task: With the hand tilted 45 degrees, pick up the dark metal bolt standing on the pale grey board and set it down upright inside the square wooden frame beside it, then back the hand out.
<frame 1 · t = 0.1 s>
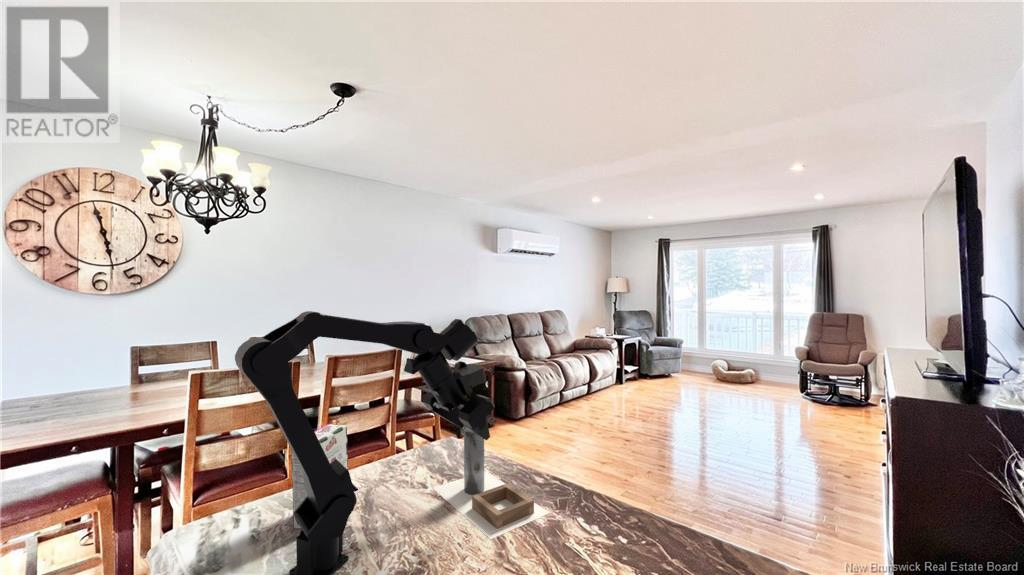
hand: (475, 432, 87), 15 cm above the countertop, tool tilted 35°, fingers open, 9 cm apart
metal bolt: (474, 489, 90), point 1 cm above the countertop, touching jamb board
square wooden frame: (502, 510, 82), resting on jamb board
candy bar box: (321, 515, 83), on the countertop
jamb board: (487, 504, 86), on the countertop
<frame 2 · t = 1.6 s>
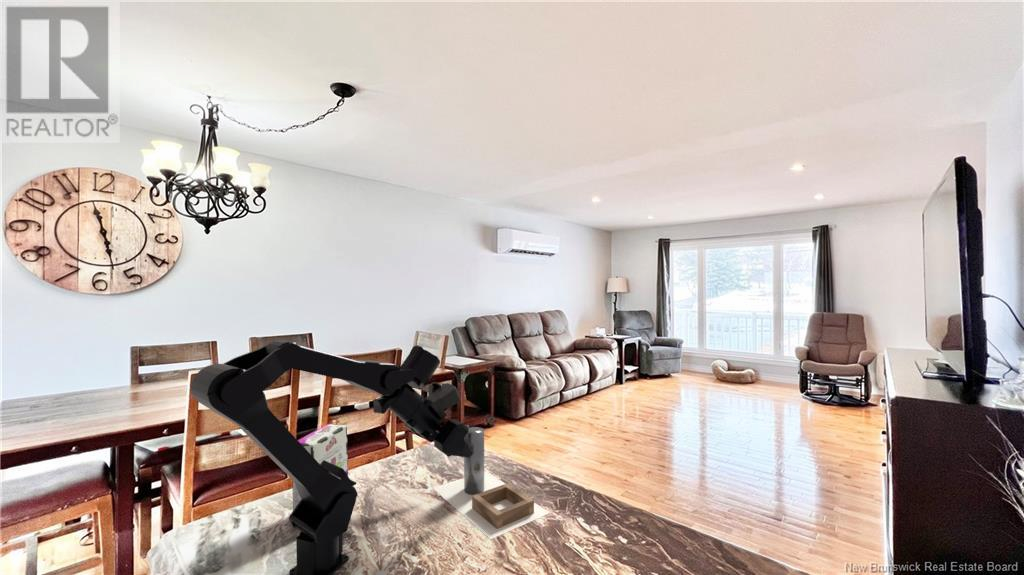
hand: (459, 448, 88), 11 cm above the countertop, tool tilted 45°, fingers open, 9 cm apart
nothing on the countertop moved.
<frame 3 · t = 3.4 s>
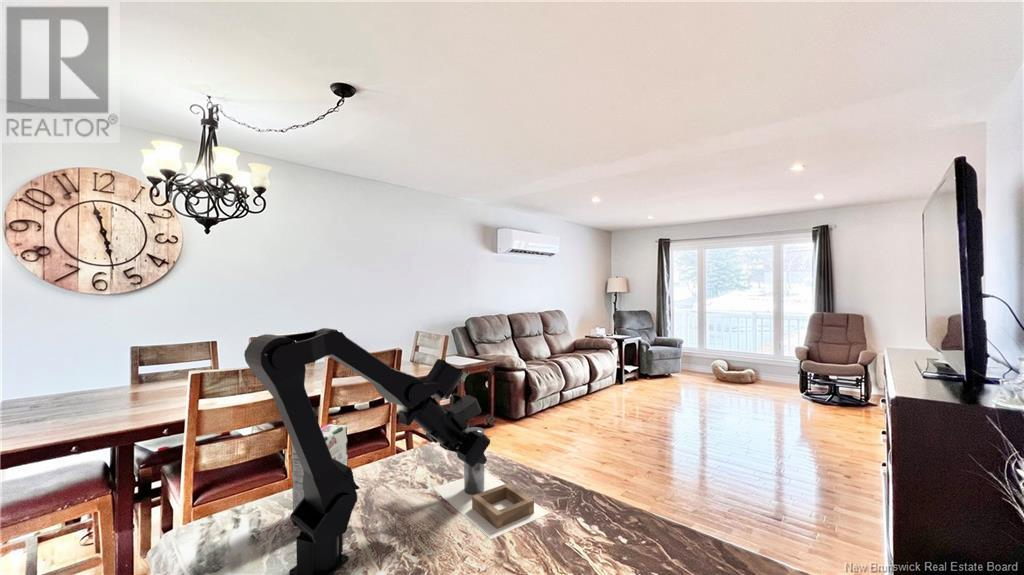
hand: (479, 458, 91), 8 cm above the countertop, tool tilted 45°, fingers closed on metal bolt, 4 cm apart
metal bolt: (474, 489, 90), point 1 cm above the countertop, touching gripper, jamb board
everything else where it was.
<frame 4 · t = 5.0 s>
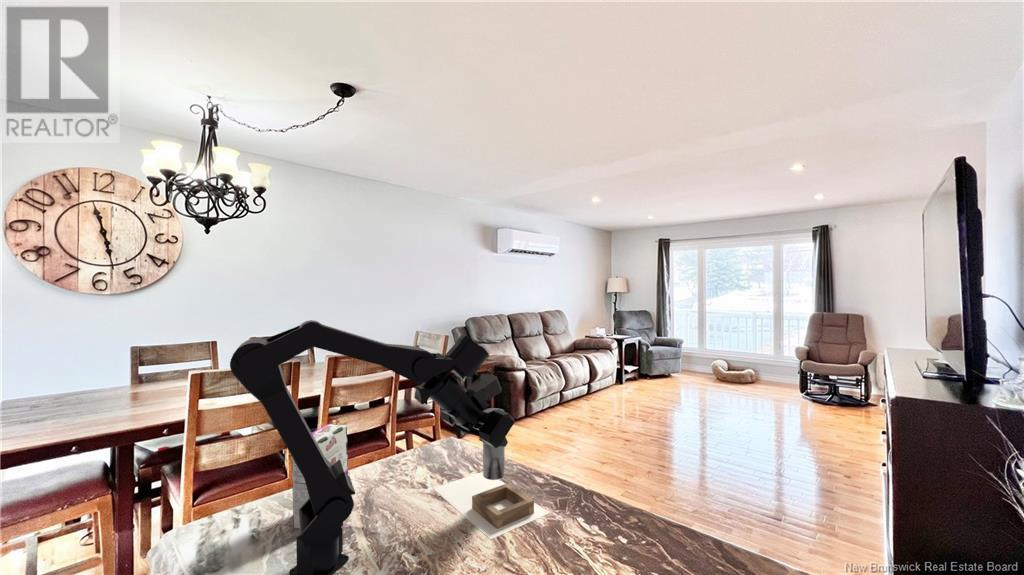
hand: (499, 441, 85), 14 cm above the countertop, tool tilted 45°, fingers closed on metal bolt, 4 cm apart
metal bolt: (493, 474, 85), point 7 cm above the countertop, touching gripper
everything else where it was.
when the fingers open (9 cm above the countertop, at t = 6.6 s): metal bolt drops 1 cm, resting on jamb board.
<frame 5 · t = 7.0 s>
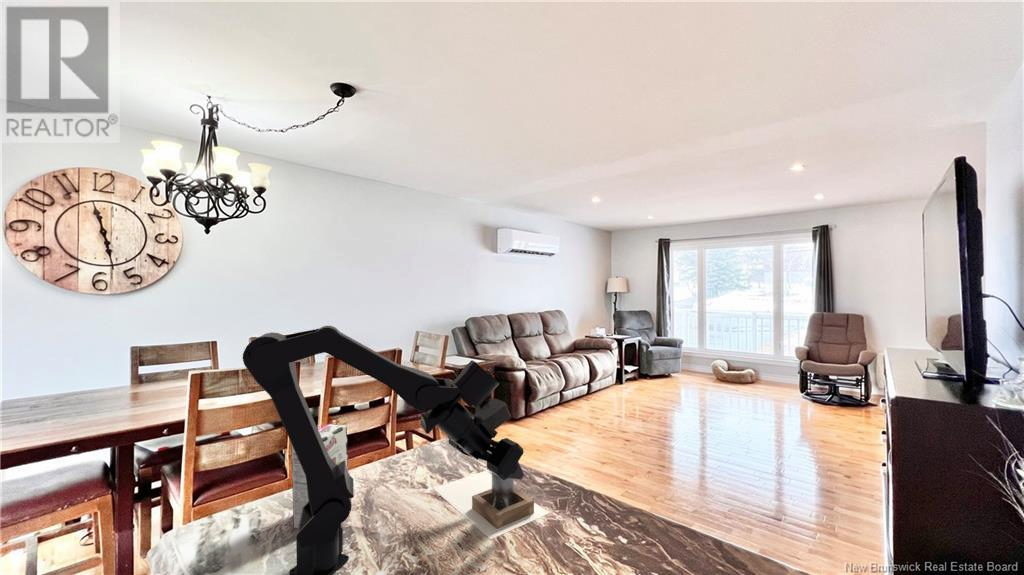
hand: (508, 468, 83), 9 cm above the countertop, tool tilted 45°, fingers open, 9 cm apart
metal bolt: (502, 510, 82), point 1 cm above the countertop, touching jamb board
everything else where it was.
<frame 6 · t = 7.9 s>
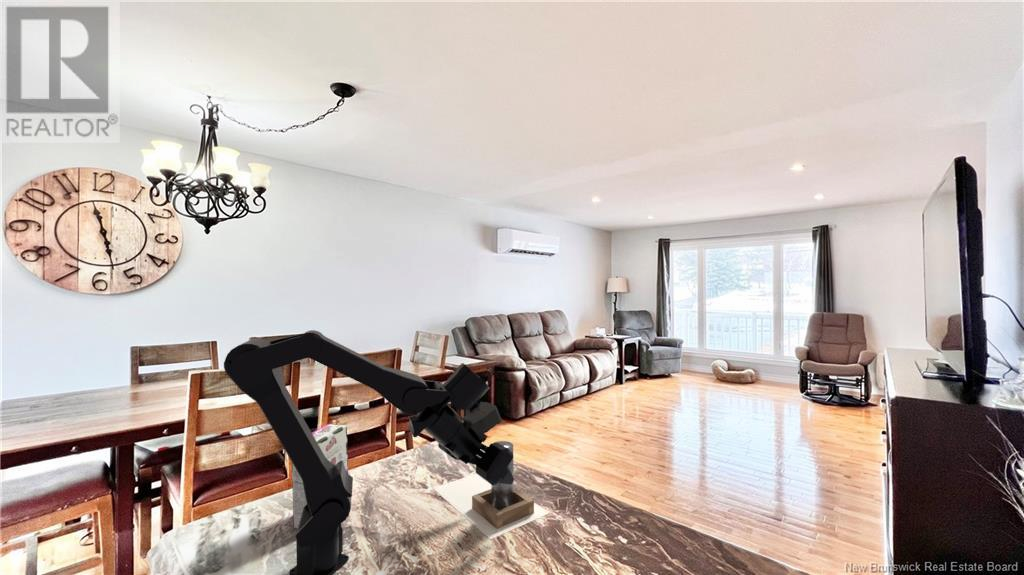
hand: (498, 472, 81), 9 cm above the countertop, tool tilted 45°, fingers open, 9 cm apart
nothing on the countertop moved.
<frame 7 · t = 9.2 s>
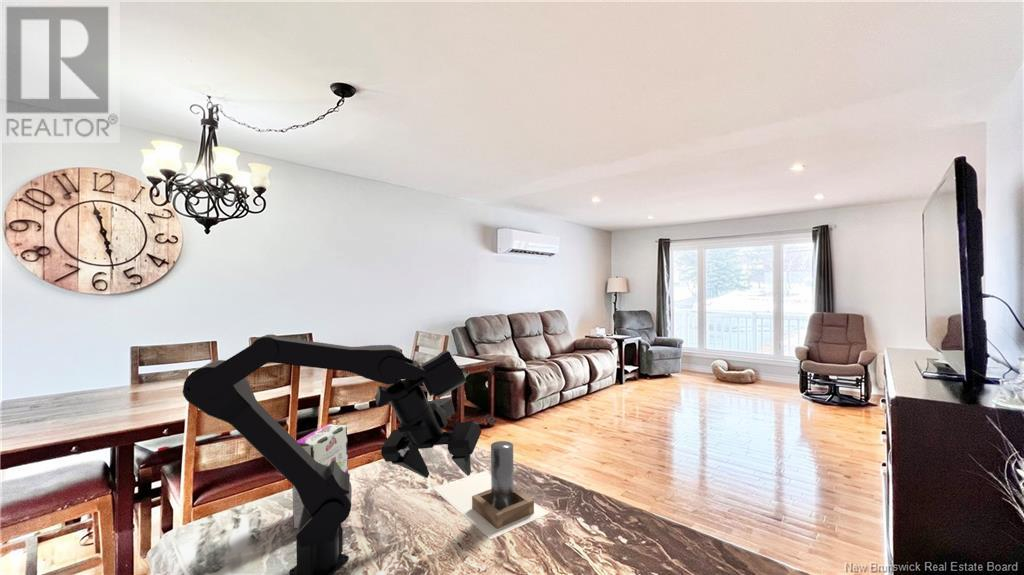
hand: (448, 474, 78), 10 cm above the countertop, tool tilted 30°, fingers open, 9 cm apart
nothing on the countertop moved.
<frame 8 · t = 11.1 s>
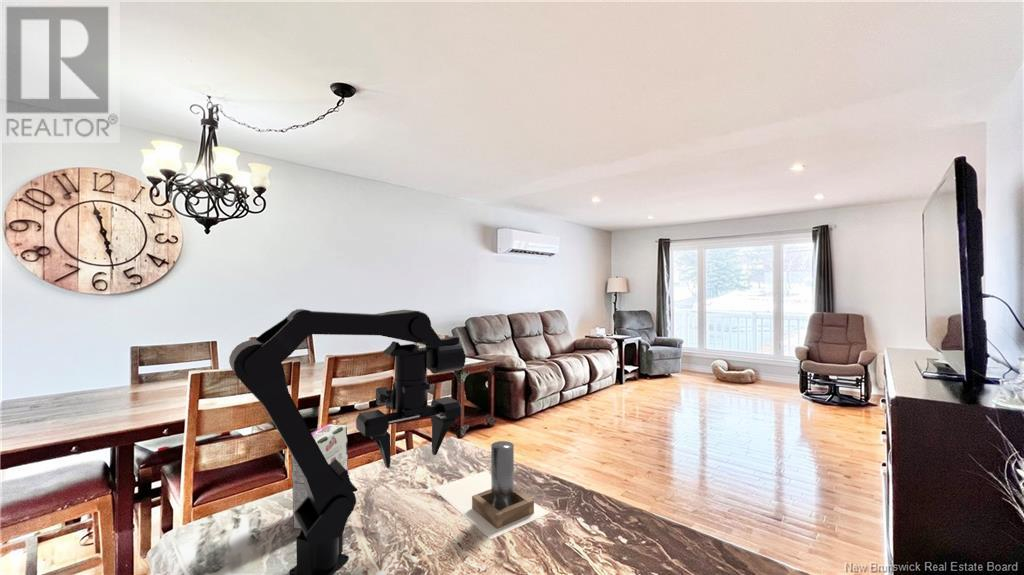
hand: (411, 460, 77), 13 cm above the countertop, tool pointing down, fingers open, 9 cm apart
nothing on the countertop moved.
at the end: metal bolt 0.0 cm off-centre on the square wooden frame, point 0.0 cm above the square wooden frame's base; metal bolt tilted 0°; the gripper is holding nothing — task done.
